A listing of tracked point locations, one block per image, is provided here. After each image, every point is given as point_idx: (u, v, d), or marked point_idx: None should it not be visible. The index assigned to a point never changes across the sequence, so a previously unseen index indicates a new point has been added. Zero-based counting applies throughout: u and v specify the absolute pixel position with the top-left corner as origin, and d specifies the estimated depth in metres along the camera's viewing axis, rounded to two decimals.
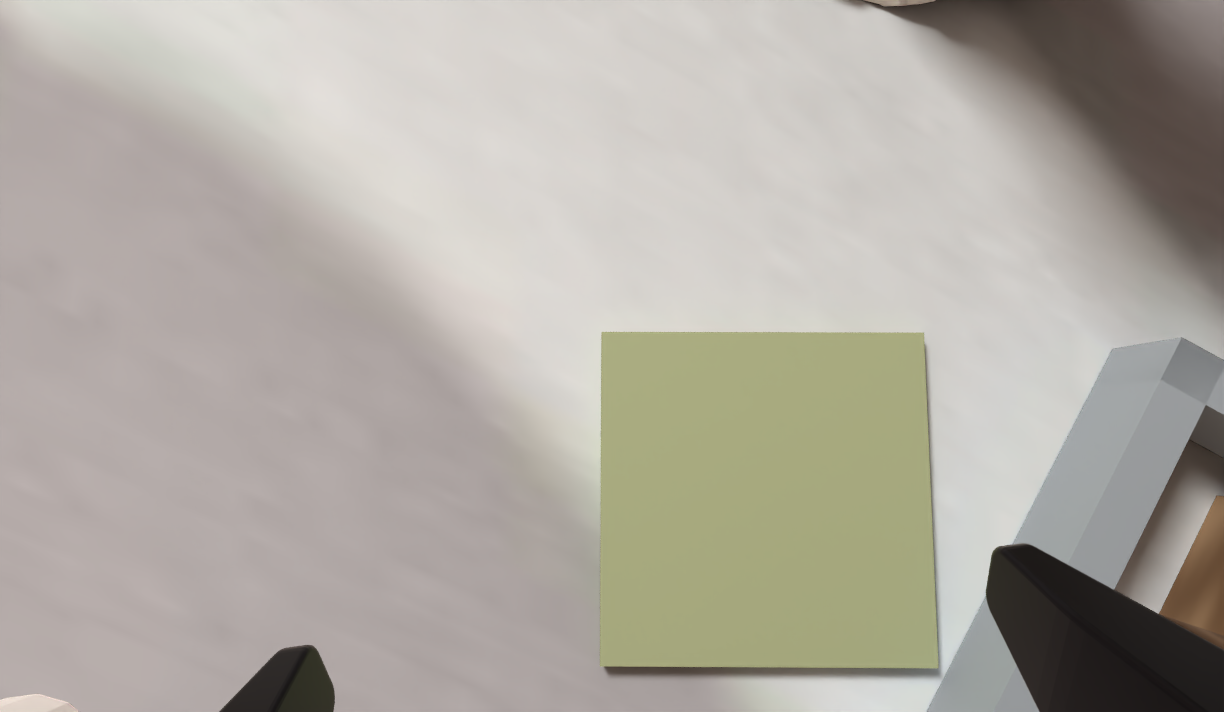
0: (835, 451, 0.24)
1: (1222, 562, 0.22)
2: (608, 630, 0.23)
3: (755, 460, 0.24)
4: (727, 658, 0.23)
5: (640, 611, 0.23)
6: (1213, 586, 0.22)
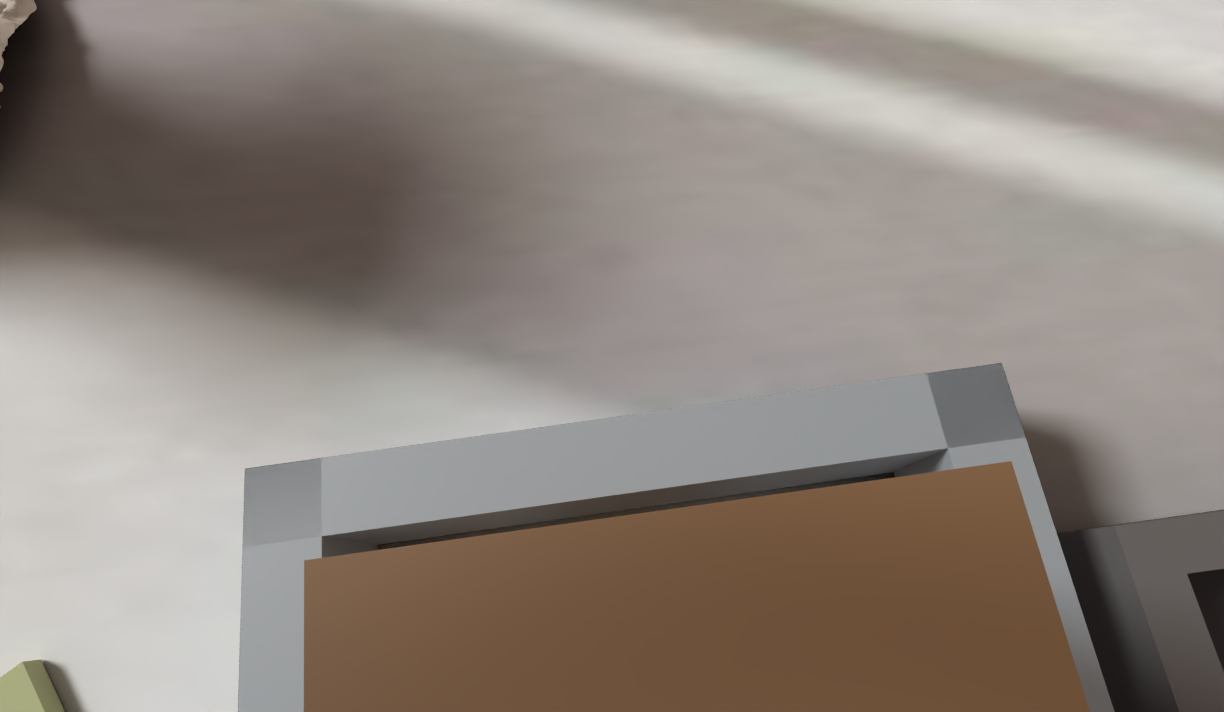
0: None
1: None
2: None
3: None
4: None
5: None
6: None
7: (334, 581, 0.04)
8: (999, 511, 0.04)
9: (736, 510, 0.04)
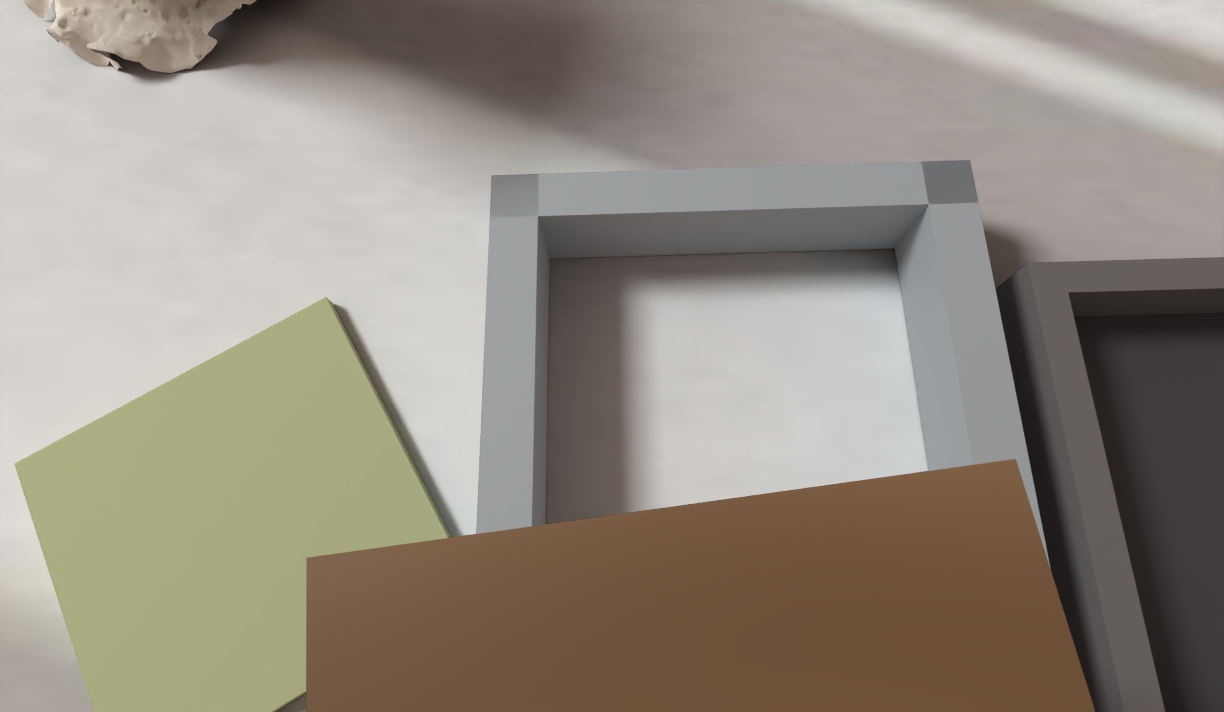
0: (287, 444, 0.23)
1: None
2: None
3: (212, 496, 0.22)
4: (258, 709, 0.20)
5: None
6: None
7: (337, 579, 0.04)
8: (1003, 509, 0.04)
9: (739, 507, 0.04)
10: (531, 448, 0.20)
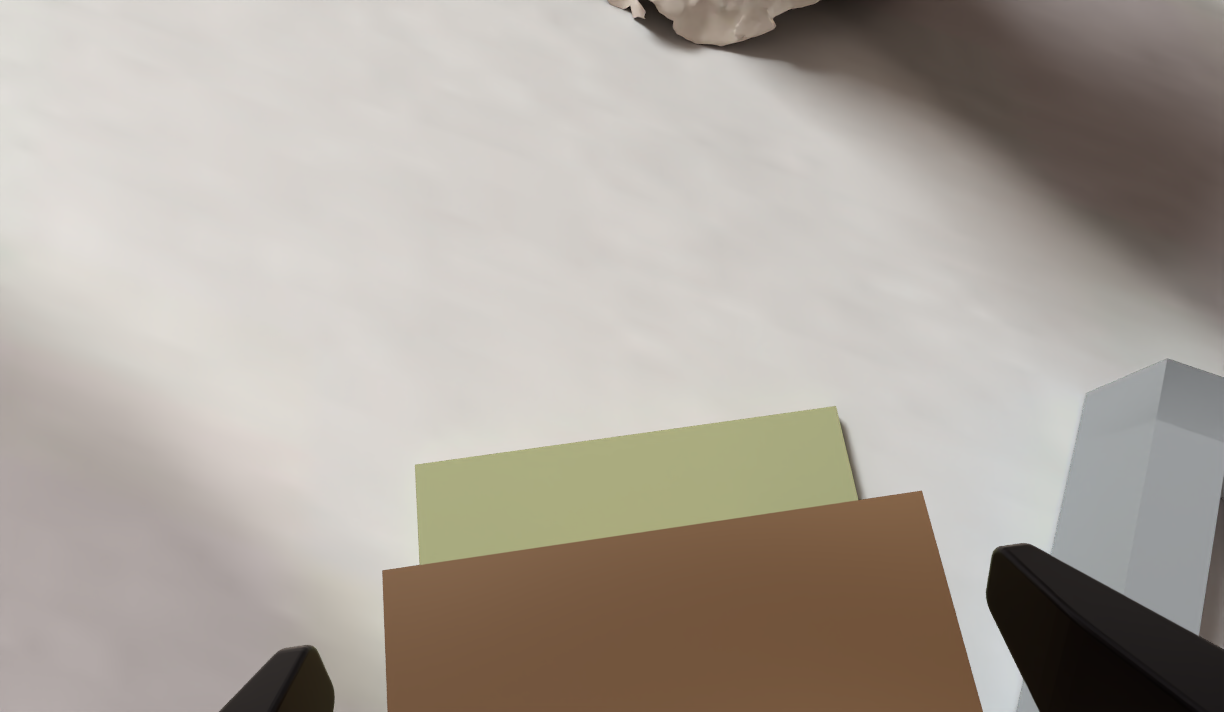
0: None
1: None
2: None
3: None
4: None
5: None
6: None
7: (406, 586, 0.06)
8: (911, 529, 0.06)
9: (712, 529, 0.06)
10: None
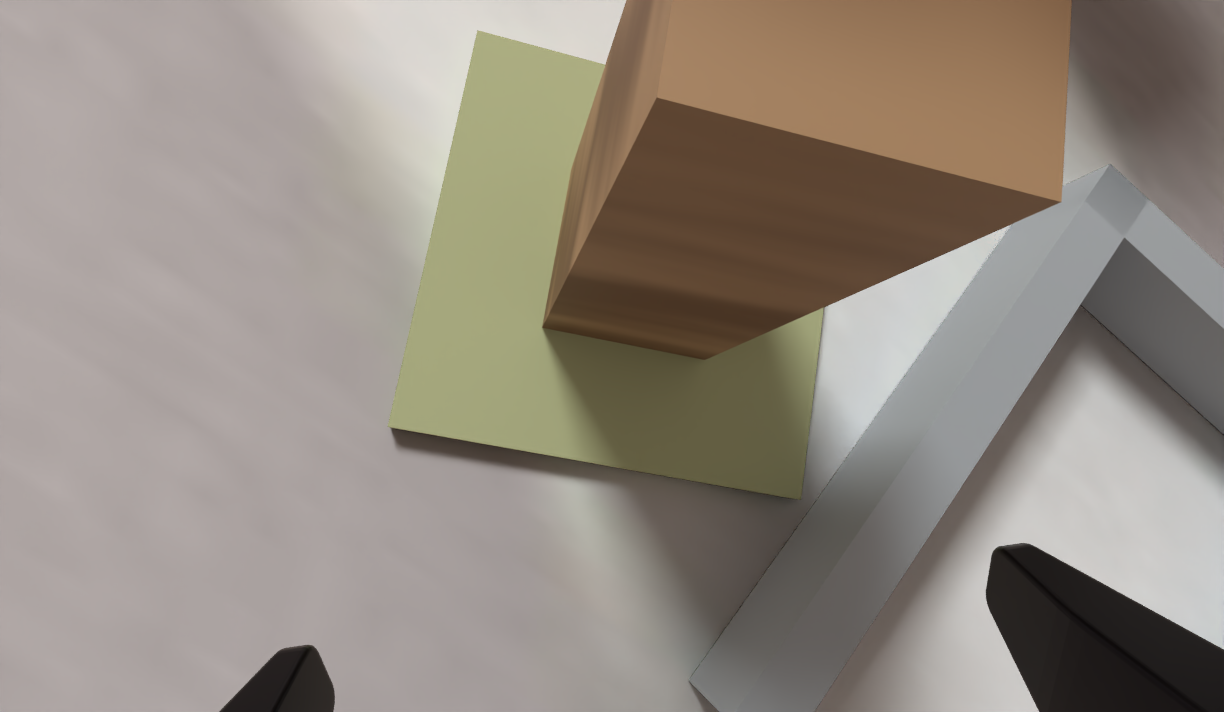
0: None
1: (562, 231, 0.17)
2: (409, 384, 0.18)
3: None
4: (555, 445, 0.18)
5: (456, 368, 0.18)
6: (557, 262, 0.17)
7: None
8: None
9: None
10: (989, 440, 0.18)
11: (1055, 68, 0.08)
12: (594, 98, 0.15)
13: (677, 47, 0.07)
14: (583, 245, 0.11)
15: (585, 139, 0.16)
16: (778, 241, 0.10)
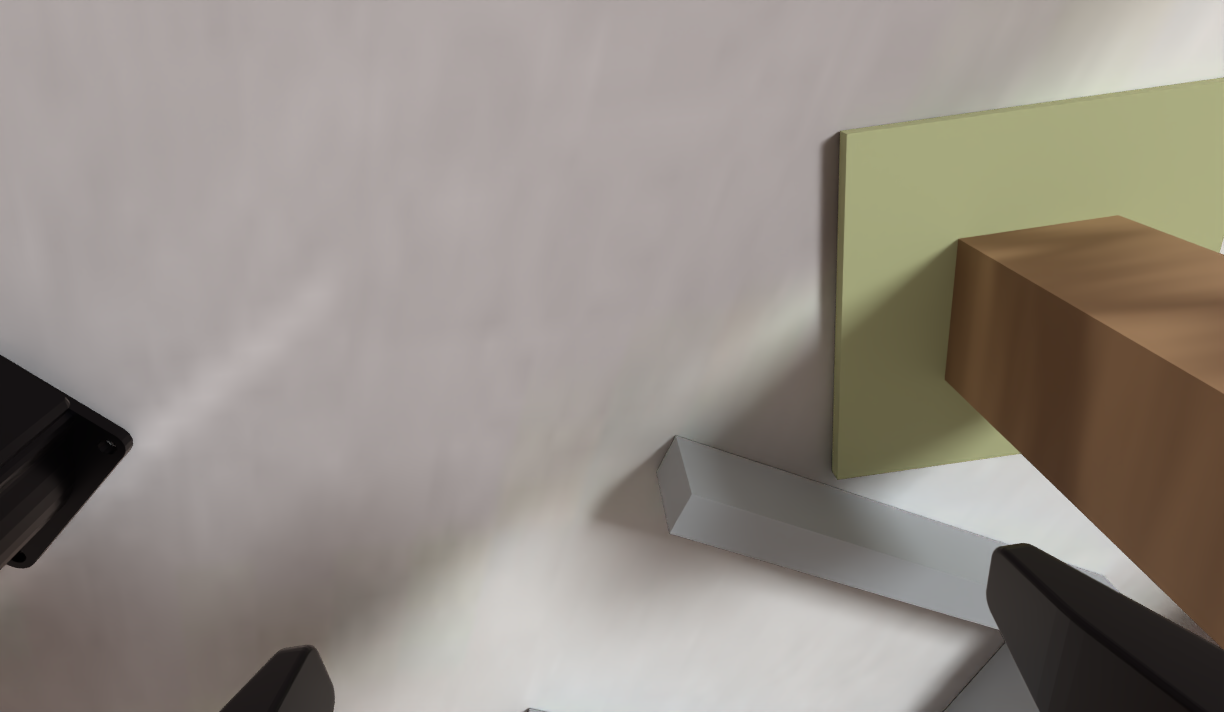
0: None
1: (1069, 241, 0.18)
2: (889, 138, 0.18)
3: None
4: (851, 283, 0.20)
5: (910, 176, 0.19)
6: (1039, 247, 0.18)
7: None
8: None
9: None
10: (930, 608, 0.22)
11: None
12: None
13: None
14: (1155, 353, 0.13)
15: (1188, 258, 0.17)
16: (1209, 529, 0.12)
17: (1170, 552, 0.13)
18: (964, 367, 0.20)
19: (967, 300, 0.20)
